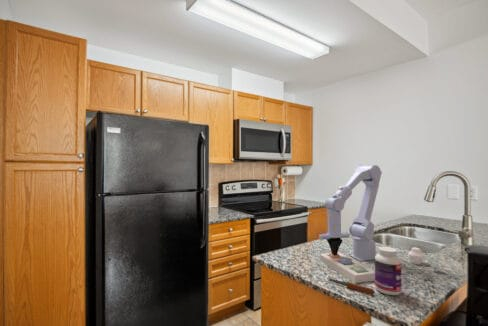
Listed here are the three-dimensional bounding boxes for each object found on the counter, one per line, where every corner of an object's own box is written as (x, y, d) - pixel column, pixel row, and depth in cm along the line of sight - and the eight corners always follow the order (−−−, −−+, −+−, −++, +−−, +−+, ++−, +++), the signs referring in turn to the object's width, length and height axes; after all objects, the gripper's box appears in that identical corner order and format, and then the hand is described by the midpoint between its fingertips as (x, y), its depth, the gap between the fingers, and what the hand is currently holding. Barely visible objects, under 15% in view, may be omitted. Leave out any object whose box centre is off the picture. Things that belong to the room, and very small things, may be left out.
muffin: (406, 262, 115) (406, 247, 115) (409, 259, 119) (409, 244, 119) (423, 266, 110) (422, 250, 110) (425, 263, 115) (425, 247, 115)
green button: (359, 271, 103) (359, 265, 103) (367, 275, 98) (367, 269, 98) (350, 272, 101) (350, 266, 101) (358, 277, 97) (358, 270, 97)
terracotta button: (335, 257, 118) (335, 252, 118) (341, 261, 114) (341, 255, 114) (327, 258, 117) (327, 253, 117) (333, 262, 113) (333, 256, 113)
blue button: (347, 262, 110) (347, 256, 110) (353, 266, 106) (353, 260, 106) (338, 263, 109) (338, 257, 109) (344, 267, 105) (344, 261, 105)
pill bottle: (401, 299, 83) (401, 254, 83) (373, 292, 87) (373, 250, 88) (401, 289, 90) (401, 248, 90) (376, 283, 94) (375, 244, 94)
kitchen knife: (374, 295, 86) (374, 289, 86) (373, 296, 85) (373, 290, 85) (328, 281, 96) (328, 276, 96) (327, 283, 95) (327, 277, 95)
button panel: (338, 258, 120) (338, 252, 120) (377, 280, 97) (377, 272, 97) (319, 260, 118) (319, 254, 118) (355, 283, 95) (355, 275, 95)
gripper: (342, 221, 121) (342, 250, 121) (315, 223, 118) (315, 253, 117) (352, 224, 114) (352, 255, 114) (323, 226, 111) (323, 258, 110)
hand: (334, 254), depth 115 cm, fingers closed, pressing on terracotta button
